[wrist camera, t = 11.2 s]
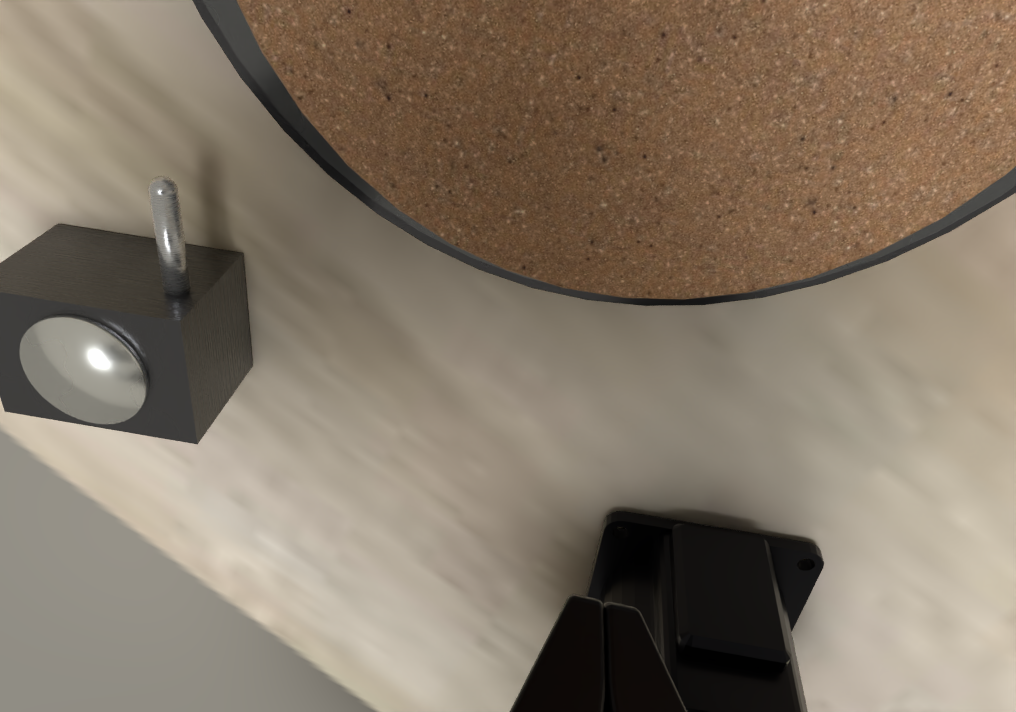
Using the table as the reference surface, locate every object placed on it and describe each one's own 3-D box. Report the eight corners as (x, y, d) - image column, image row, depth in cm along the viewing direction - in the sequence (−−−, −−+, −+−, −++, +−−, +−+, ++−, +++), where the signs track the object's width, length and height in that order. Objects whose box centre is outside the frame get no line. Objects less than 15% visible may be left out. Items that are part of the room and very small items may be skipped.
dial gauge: (252, 366, 23) (193, 449, 20) (83, 338, 23) (-1, 416, 20) (233, 148, 19) (158, 208, 16) (33, 118, 19) (-78, 171, 16)
